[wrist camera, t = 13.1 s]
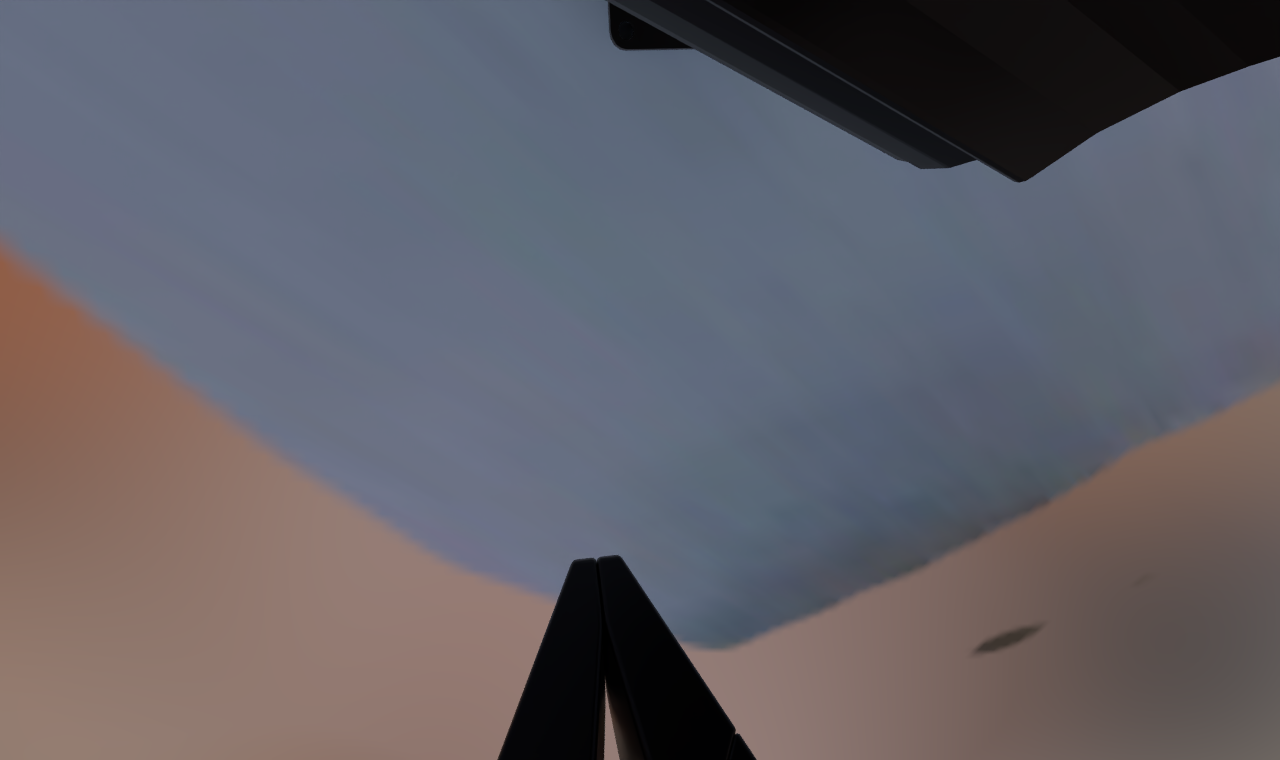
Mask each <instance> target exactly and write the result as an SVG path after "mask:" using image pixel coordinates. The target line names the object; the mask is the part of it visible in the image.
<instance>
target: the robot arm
mask: <svg viewBox="0 0 1280 760" xmlns="http://www.w3.org/2000/svg"><path fill="white" fill-rule="evenodd" d="M606 1H608V15H609V33H610V38H611V40H612V42H613V44H614V45H615V46H616V47H617V48H619V49H621V50H625V51H628V50H678V49H696V50H697V51H699V52H701V53H703V54H705V55H707V56H708V57H710V58H712V59H714V60H716V61H718V62H719V63H721V64H723V65H725V66H727V67H729V68H730V69H732V70H734V71H736V72H738V73H740V74H741V75H743V76H745V77H747V78H749V79H751V80H752V81H754V82H756V83H758V84H760V85H761V86H763V87H765V88H767V89H769V90H771V91H772V92H774V93H776V94H778V95H780V96H782V97H783V98H785V99H787V100H789V101H791V102H793V103H794V104H796V105H798V106H800V107H802V108H804V109H805V110H807V111H809V112H811V113H813V114H815V115H816V116H818V117H820V118H822V119H824V120H825V121H827V122H829V123H831V124H833V125H835V126H836V127H838V128H840V129H842V130H844V131H846V132H847V133H849V134H851V135H853V136H855V137H857V138H858V139H860V140H862V141H864V142H866V143H868V144H869V145H871V146H873V147H875V148H877V149H879V150H880V151H882V152H884V153H886V154H888V155H890V156H891V157H893V158H895V159H897V160H901V161H906V162H909V163H911V164H912V165H914V166H916V167H918V168H920V169H935V168H951V167H954V166H957V165H961V164H964V163H967V162H971V161H974V160H978V161H980V162H982V163H983V164H985V165H987V166H989V167H990V168H992V169H994V170H995V171H997V172H999V173H1000V174H1002V175H1004V176H1006V177H1007V178H1009V179H1011V180H1012V181H1014V182H1023V181H1026V180H1028V179H1030V178H1031V177H1033V176H1034V175H1036V174H1037V173H1039V172H1040V171H1042V170H1043V169H1045V168H1046V167H1048V166H1049V165H1051V164H1052V163H1053V162H1055V161H1056V160H1058V159H1059V158H1061V157H1062V156H1064V155H1065V154H1067V153H1068V152H1070V151H1071V150H1073V149H1074V148H1076V147H1077V146H1078V145H1080V144H1081V143H1083V142H1084V141H1086V140H1087V139H1089V138H1090V137H1092V136H1093V135H1095V134H1096V133H1098V132H1100V131H1102V130H1104V129H1106V128H1108V127H1110V126H1112V125H1114V124H1116V123H1118V122H1120V121H1122V120H1124V119H1126V118H1128V117H1130V116H1132V115H1134V114H1136V113H1138V112H1140V111H1142V110H1144V109H1146V108H1148V107H1150V106H1152V105H1154V104H1156V103H1158V102H1160V101H1162V100H1164V99H1166V98H1168V97H1170V96H1172V95H1174V94H1176V93H1178V92H1180V91H1183V90H1186V89H1188V88H1191V87H1194V86H1196V85H1199V84H1202V83H1205V82H1207V81H1210V80H1213V79H1216V78H1218V77H1221V76H1224V75H1227V74H1229V73H1232V72H1235V71H1237V70H1240V69H1243V68H1246V67H1248V66H1251V65H1255V64H1258V63H1261V62H1264V61H1267V60H1271V59H1274V58H1277V57H1280V0H606ZM622 22H628V23H629V24H630V25H631V26H632V29H633V35H632V37H631V39H629V40H625V39H622V37H621V36H620V35H619V31H618V29H619V25H620V23H622ZM605 682H606V689H607V690H606V691H607V697H608V703H609V708H610V713H611V718H612V723H613V728H614V733H615V738H616V744H617V748H618V754H619V758H620V760H756V758H755V757H754V755H753V754H752V752H751V751H750V749H749V748H748V746H747V745H746V743H745V742H744V740H743V739H742V737H741V736H740V734H738V733H737V734H735V731H736V729H735V727H734V725H733V724H732V722H731V721H730V719H729V718H728V716H727V715H726V714H725V712H724V710H723V709H722V707H721V706H720V704H719V703H718V702H717V700H716V698H715V697H714V696H713V694H712V692H711V691H710V689H709V688H708V686H707V685H706V683H705V682H704V680H703V679H702V678H701V676H700V674H699V673H698V672H697V670H696V668H695V667H694V666H693V664H692V663H691V661H690V659H689V658H688V657H687V655H686V653H685V652H684V650H683V649H682V647H681V646H680V644H679V643H678V641H677V640H676V638H675V637H674V635H673V634H672V632H671V631H670V629H669V628H668V626H667V625H666V623H665V622H664V620H663V619H662V617H661V616H660V614H659V613H658V611H657V610H656V608H655V607H654V605H653V604H652V602H651V601H650V599H649V598H648V596H647V595H646V593H645V592H644V590H643V589H642V587H641V586H640V584H639V583H638V581H637V580H636V578H635V577H634V575H633V574H632V572H631V571H630V569H629V568H628V566H627V565H626V563H625V562H624V560H623V559H622V558H621V557H620V556H619V555H612V556H603V557H599V558H598V559H597V562H596V560H595V559H594V558H586V559H577V560H574V561H573V562H572V564H571V566H570V568H569V571H568V574H567V576H566V579H565V582H564V584H563V587H562V590H561V592H560V595H559V598H558V600H557V603H556V606H555V608H554V611H553V613H552V616H551V619H550V621H549V624H548V627H547V629H546V632H545V635H544V638H543V640H542V643H541V646H540V648H539V651H538V653H537V656H536V659H535V661H534V664H533V667H532V669H531V672H530V675H529V677H528V680H527V683H526V685H525V688H524V691H523V693H522V696H521V698H520V701H519V704H518V706H517V709H516V712H515V715H514V717H513V720H512V723H511V725H510V728H509V731H508V733H507V736H506V738H505V741H504V744H503V746H502V749H501V752H500V754H499V757H498V760H604V745H605Z"/></svg>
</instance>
